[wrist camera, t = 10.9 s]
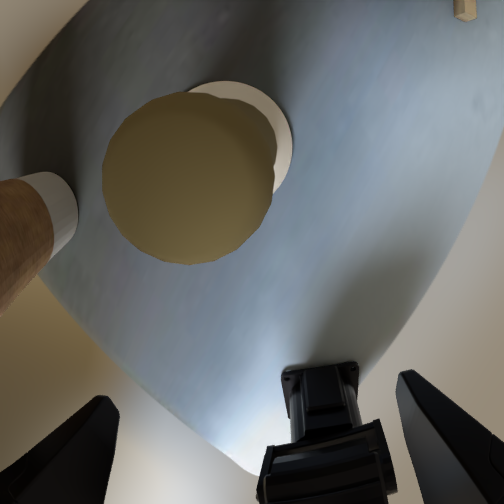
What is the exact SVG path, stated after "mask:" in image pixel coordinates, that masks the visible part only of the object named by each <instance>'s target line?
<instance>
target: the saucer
mask: <svg viewBox="0 0 504 504" xmlns="http://www.w3.org/2000/svg"><path fill="white" fill-rule="evenodd" d="M188 92H198V93H208V94H211V95H213V96H216V97H218V98H228V99H239V100H241V101H244V102H246V103H248V104H251V105H253V106H255V107H256V108H257V109H258V110H259V111H260V112H261V113H263V114H264V115H265V116H266V117H267V119H268V121H269V122H270V124H271V126H272V128H273V129H274V131H275V136H276V142H277V155H276V162H275V165H274V172H275V181H274V188H273V193H274V192H275V191H276V189H277V188H278V187H279V186H280V184H281V183H282V181H283V180H284V178H285V176H286V174H287V172H288V169H289V166H290V162H291V157H292V137H291V132H290V128H289V125H288V123H287V120H286V118H285V116H284V114H283V113H282V111H281V110H280V108H279V107H278V106H277V104H276V103H275V102H274V101H273V100H272V99H271V98H270V97H268V96H267V95H266V94H264V93H263V92H262V91H260V90H258V89H256V88H254V87H252V86H249V85H247V84H243V83H239V82H233V81H217V82H210V83H207V84H203V85H200V86H198V87H196V88H194V89H192V90H190V91H188Z"/></svg>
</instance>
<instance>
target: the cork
mask: <svg viewBox="0 0 504 504" xmlns="http://www.w3.org/2000/svg"><path fill="white" fill-rule="evenodd" d="M276 155H277V142H276V136H275V131H274V129H273V128H272V126H271V124H270V122H269V121H268V119H267V117H266V116H265V115H264V114H263V113H261V112H260V111H259V110H258V109H257V108H256V107H255V106H253V105H251V104H248V103H246V102H244V101H241V100H239V99H228V98H218V97H216V96H213V95H211V94H208V93H198V92H176V93H173V94H169V95H166V96H162V97H159V98H156V99H153V100H151V101H149V102H148V103H146V104H145V105H144V106H142V107H141V108H139V109H138V110H137V111H135V112H134V113H133V114H131V115H130V116H129V117H127V118H126V119H125V120H124V121H123V123H122V124H121V126H120V127H119V128H118V130H117V131H116V133H115V134H114V135H113V137H112V138H111V140H110V142H109V145H108V148H107V152H106V155H105V158H104V161H103V165H102V191H103V195H104V198H105V202H106V205H107V208H108V212H109V215H110V217H111V219H112V220H113V222H114V223H115V225H116V226H117V228H118V229H119V231H120V232H121V234H122V235H123V236H124V237H125V238H126V239H127V240H128V241H130V242H131V243H132V244H133V245H134V246H135V247H137V248H138V249H139V250H140V251H142V252H144V253H146V254H149V255H151V256H153V257H155V258H157V259H160V260H162V261H164V262H170V263H178V264H185V265H193V264H199V263H205V262H211V261H215V260H217V259H219V258H221V257H223V256H225V255H227V254H229V253H231V252H233V251H235V250H237V249H238V248H239V247H240V246H241V245H242V244H243V243H244V242H245V241H246V240H247V239H248V238H249V237H250V236H251V235H252V234H253V233H254V232H255V231H256V230H257V229H258V228H259V227H260V225H261V223H262V221H263V219H264V217H265V215H266V213H267V211H268V209H269V207H270V205H271V202H272V195H273V188H274V181H275V172H274V165H275V162H276Z"/></svg>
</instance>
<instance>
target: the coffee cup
mask: <svg viewBox="0 0 504 504" xmlns="http://www.w3.org/2000/svg"><path fill="white" fill-rule="evenodd" d="M77 224H78V207H77V202H76V199H75V196H74V194H73V192H72V190H71V188H70V187H69V185H68V184H67V183H66V182H65V181H64V180H63V179H62V178H61V177H60V176H58V175H56V174H55V173H51V172H39V173H35V174H31V175H27V176H23V177H19V178H15V179H8V180H4V181H0V317H1V316H2V314H3V313H4V312H5V311H6V309H7V308H8V307H9V306H10V305H11V303H12V302H13V301H14V300H15V299H16V297H17V296H18V295H19V294H20V293H21V292H22V290H23V289H24V288H25V287H26V286H27V285H28V283H29V282H30V281H31V280H32V279H33V278H34V277H35V276H36V274H37V273H38V272H39V271H40V270H41V269H42V268H43V267H44V266H45V265H46V263H47V262H48V261H49V260H50V259H51V258H52V257H53V256H54V255H55V254H56V253H57V252H58V251H59V250H60V249H61V248H62V247H63V246H64V245H65V244H66V243H67V242H68V241H69V240H70V239H71V238H72V237H73V235H74V233H75V231H76V228H77Z"/></svg>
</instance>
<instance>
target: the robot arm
mask: <svg viewBox="0 0 504 504" xmlns="http://www.w3.org/2000/svg"><path fill="white" fill-rule="evenodd" d="M352 367H353V368H352ZM285 377H288V378H285ZM358 379H359V366H358V363H357V362H348V363H342V364H336V365H330V366H324V367H317V368H310V369H303V370H296V371H288V372H284V373H282V374H281V383H282V388H283V393H284V398H285V403H286V409H287V414H288V418H289V419H290V424H291V443H288V444H283V445H278V446H275V445H272V446H267V449H266V453H265V455H264V460H263V464H262V468H261V472H260V476H259V480H258V485H257V489H256V491H257V494H256V499H257V501H258V502H259V504H388V499H387V495H391V494H394V493H397V492H398V491H397V484H396V478H395V473H394V468H393V464H392V460H391V456H390V452H389V449H388V445H387V442H386V439H385V435H384V432H383V429H382V425H381V422H380V419H376V420H373V422H370V423H367V424H364V425H362V421H361V416H360V412H359V408H358V404H357V395H358ZM396 399H397V403H398V408H399V413H400V417H401V422H402V427H403V432H404V437H405V441H406V445H407V448H408V451H409V454H410V457H411V460H412V464H413V467H414V470H415V473H416V477H417V480H418V483H419V487H420V490H421V494H422V498H423V501H424V504H504V442H503V441H501V440H500V439H499V438H498V437H497V436H495V435H494V434H492V433H491V432H490V431H489V430H488V429H486V428H485V427H484V426H483V425H482V424H480V423H479V422H478V421H477V420H475V419H474V418H473V417H472V416H471V415H469V414H468V413H467V412H466V411H464V410H463V409H462V408H461V407H459V406H458V405H457V404H456V403H454V402H453V401H452V400H451V399H449V398H448V397H447V396H446V395H444V394H443V393H442V392H441V391H440V390H438V389H437V388H436V387H434V386H433V385H432V384H431V383H430V382H428V381H427V380H426V379H425V378H423V377H422V376H421V375H420V374H418V373H417V372H416V371H415V370H412V369H411V370H406V371H402V372H400V373H399V375H398V381H397V386H396ZM119 415H120V414H119V411H118V409H117V408H116V406H115V405H114V404H113V402H112V401H111V399H110V398H109V397H108V396H103V395H97V396H95V397H94V398H93V399H92V400H90V401H89V402H88V403H87V404H85V405H84V406H83V407H82V408H81V409H79V410H78V411H77V412H76V413H75V414H73V416H71V417H70V418H69V419H67V420H66V421H65V422H64V423H62V424H61V425H60V426H59V427H58V428H56V429H55V430H54V431H53V432H51V433H50V434H49V435H48V436H47V437H45V438H44V439H43V440H42V441H40V442H39V443H38V444H37V445H36V446H34V447H33V448H32V449H31V450H29V451H28V453H26V454H24V456H22V457H21V458H20V459H18V460H17V461H16V462H14V463H13V464H12V465H10V466H9V467H7V468H6V469H4V470H3V471H1V472H0V504H104V500H105V495H106V491H107V486H108V481H109V477H110V472H111V468H112V464H113V458H114V455H115V448H116V440H117V433H118V426H119V419H120V416H119Z"/></svg>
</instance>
